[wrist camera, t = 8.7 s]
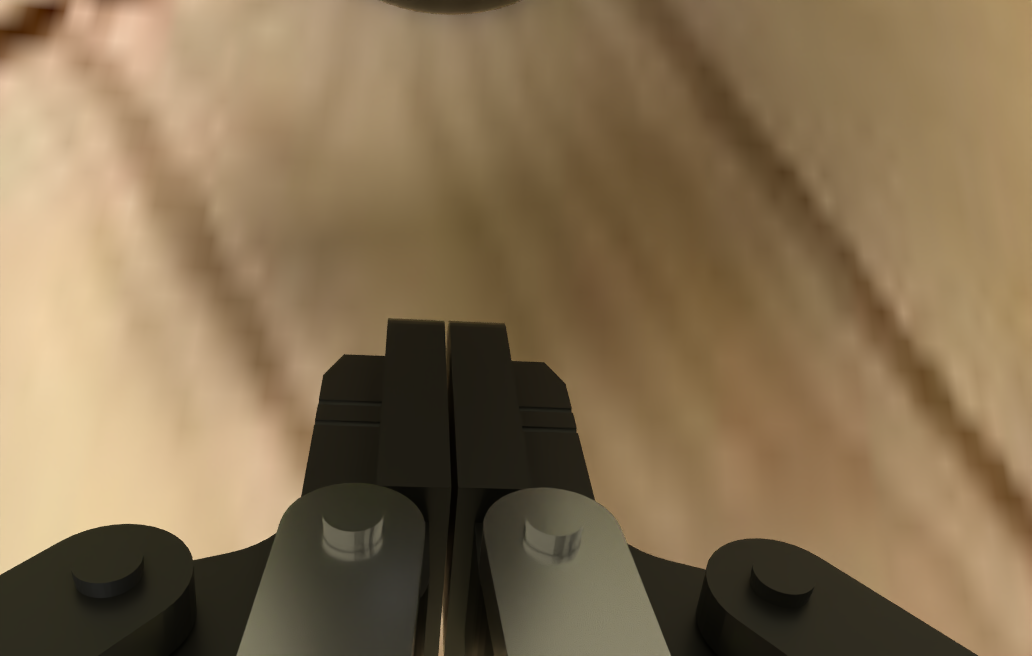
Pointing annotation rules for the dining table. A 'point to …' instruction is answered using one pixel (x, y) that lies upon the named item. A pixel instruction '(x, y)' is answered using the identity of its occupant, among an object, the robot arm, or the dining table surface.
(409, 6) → the supplement bottle
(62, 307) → the dining table surface
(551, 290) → the dining table surface
